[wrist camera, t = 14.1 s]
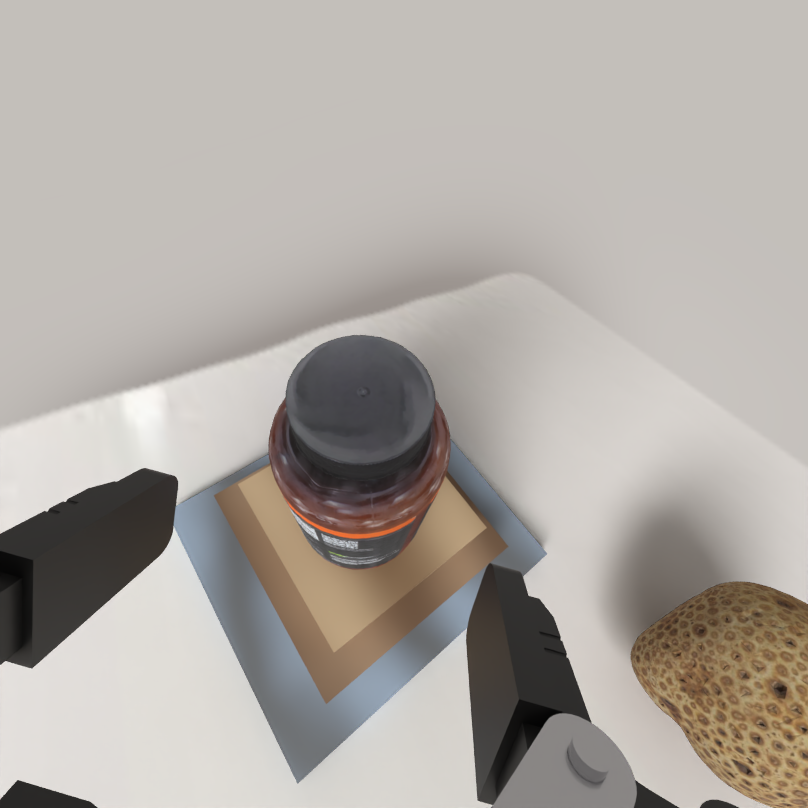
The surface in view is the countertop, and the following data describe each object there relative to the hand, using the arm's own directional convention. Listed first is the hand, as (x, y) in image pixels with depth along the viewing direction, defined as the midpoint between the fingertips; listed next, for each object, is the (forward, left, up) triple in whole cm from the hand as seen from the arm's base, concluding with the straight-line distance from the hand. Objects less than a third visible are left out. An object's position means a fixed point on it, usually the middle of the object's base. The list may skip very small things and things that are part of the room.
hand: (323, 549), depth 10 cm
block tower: (-3, -3, -17) cm, 17 cm away
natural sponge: (-14, +15, -17) cm, 27 cm away
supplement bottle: (-3, -2, -10) cm, 11 cm away
